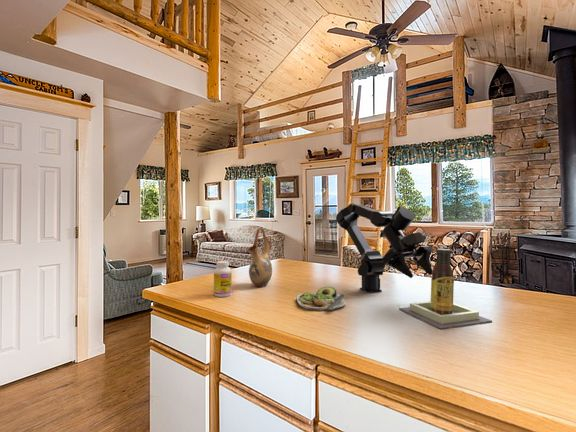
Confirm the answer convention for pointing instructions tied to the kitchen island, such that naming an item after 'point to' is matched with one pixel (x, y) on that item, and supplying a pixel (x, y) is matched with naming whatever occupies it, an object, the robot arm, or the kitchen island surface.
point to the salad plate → (322, 299)
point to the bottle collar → (462, 314)
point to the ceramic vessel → (260, 262)
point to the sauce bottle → (442, 284)
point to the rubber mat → (446, 325)
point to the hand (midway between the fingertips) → (422, 275)
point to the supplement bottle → (222, 279)
